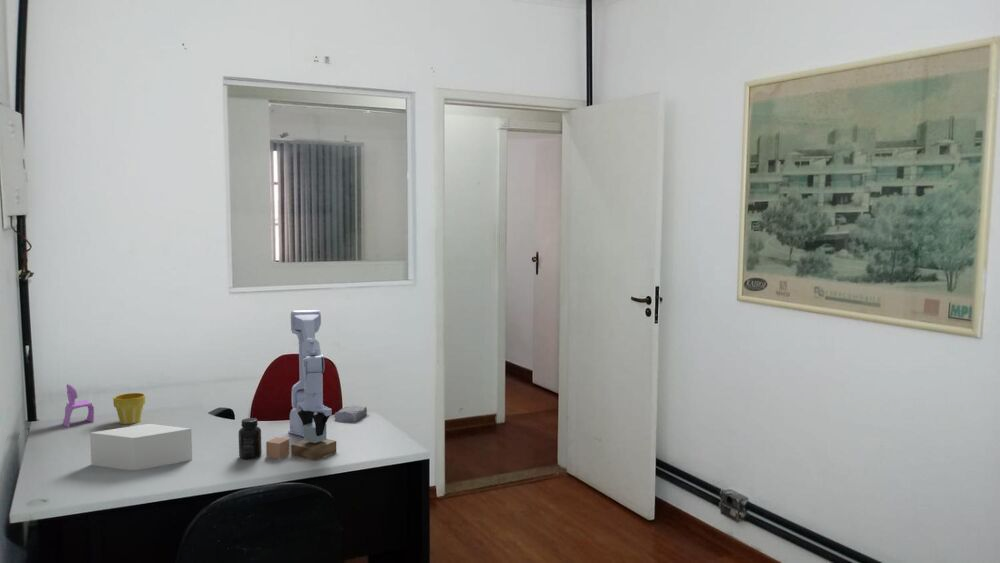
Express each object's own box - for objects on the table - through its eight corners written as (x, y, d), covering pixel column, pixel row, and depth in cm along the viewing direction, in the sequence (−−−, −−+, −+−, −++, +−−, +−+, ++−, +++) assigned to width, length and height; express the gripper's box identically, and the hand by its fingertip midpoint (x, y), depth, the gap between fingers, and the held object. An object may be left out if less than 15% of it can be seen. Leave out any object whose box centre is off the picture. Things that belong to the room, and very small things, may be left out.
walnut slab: (291, 456, 224) (291, 444, 224) (313, 447, 233) (313, 436, 233) (314, 461, 220) (314, 449, 219) (336, 452, 228) (336, 440, 228)
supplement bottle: (266, 454, 225) (265, 418, 224) (252, 461, 218) (251, 423, 217) (248, 451, 227) (247, 415, 226) (234, 458, 220) (233, 421, 219)
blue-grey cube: (304, 440, 226) (303, 425, 225) (316, 436, 230) (316, 421, 229) (314, 443, 223) (314, 427, 222) (326, 439, 227) (326, 424, 226)
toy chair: (96, 422, 256) (94, 382, 254) (69, 428, 249) (67, 387, 248) (87, 418, 261) (86, 379, 260) (61, 423, 254) (59, 383, 253)
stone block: (332, 425, 263) (357, 422, 261) (330, 413, 263) (355, 409, 261) (346, 418, 275) (369, 415, 273) (343, 406, 275) (367, 403, 272)
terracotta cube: (266, 456, 223) (266, 441, 222) (276, 452, 227) (276, 437, 227) (279, 459, 221) (279, 443, 221) (289, 454, 226) (289, 439, 225)
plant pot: (121, 418, 262) (120, 392, 261) (150, 417, 263) (149, 392, 262) (109, 426, 252) (108, 399, 251) (139, 425, 253) (138, 399, 252)
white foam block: (186, 468, 212) (185, 435, 211) (81, 473, 206) (80, 440, 205) (197, 452, 226) (196, 421, 225) (100, 457, 220) (98, 425, 219)
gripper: (288, 391, 225) (289, 432, 226) (319, 398, 217) (319, 441, 218) (306, 387, 231) (306, 427, 232) (336, 394, 223) (336, 435, 224)
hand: (314, 433), depth 226 cm, fingers closed on blue-grey cube, 5 cm apart
